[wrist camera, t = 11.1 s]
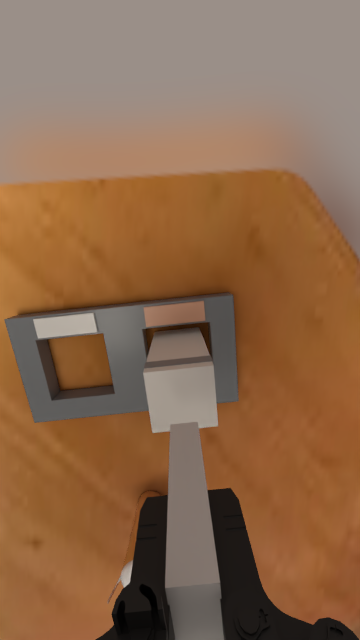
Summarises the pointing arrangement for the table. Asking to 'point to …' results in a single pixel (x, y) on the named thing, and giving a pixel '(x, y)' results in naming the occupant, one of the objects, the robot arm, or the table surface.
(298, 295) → the table surface
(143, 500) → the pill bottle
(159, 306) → the socket block
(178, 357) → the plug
